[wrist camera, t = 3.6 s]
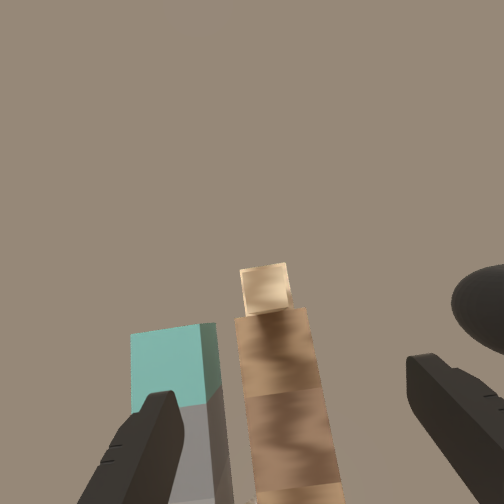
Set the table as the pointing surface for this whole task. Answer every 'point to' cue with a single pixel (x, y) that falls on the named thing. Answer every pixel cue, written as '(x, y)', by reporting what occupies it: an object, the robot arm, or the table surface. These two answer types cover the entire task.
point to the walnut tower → (286, 411)
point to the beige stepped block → (266, 289)
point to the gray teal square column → (188, 405)
